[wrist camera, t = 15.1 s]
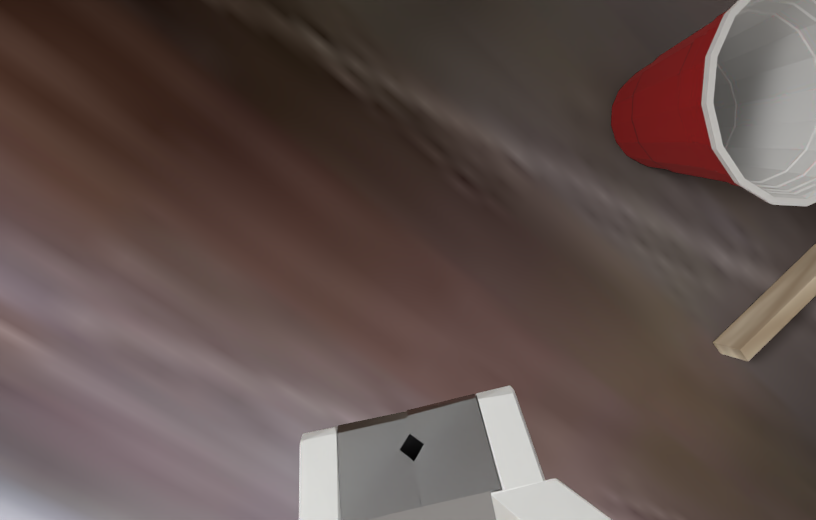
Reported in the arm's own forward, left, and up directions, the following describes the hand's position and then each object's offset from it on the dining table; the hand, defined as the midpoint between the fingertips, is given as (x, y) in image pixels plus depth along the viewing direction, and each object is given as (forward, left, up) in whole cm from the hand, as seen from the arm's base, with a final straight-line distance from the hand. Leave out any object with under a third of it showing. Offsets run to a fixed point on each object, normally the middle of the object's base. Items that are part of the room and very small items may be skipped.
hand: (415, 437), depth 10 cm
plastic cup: (+8, +24, -29) cm, 39 cm away
